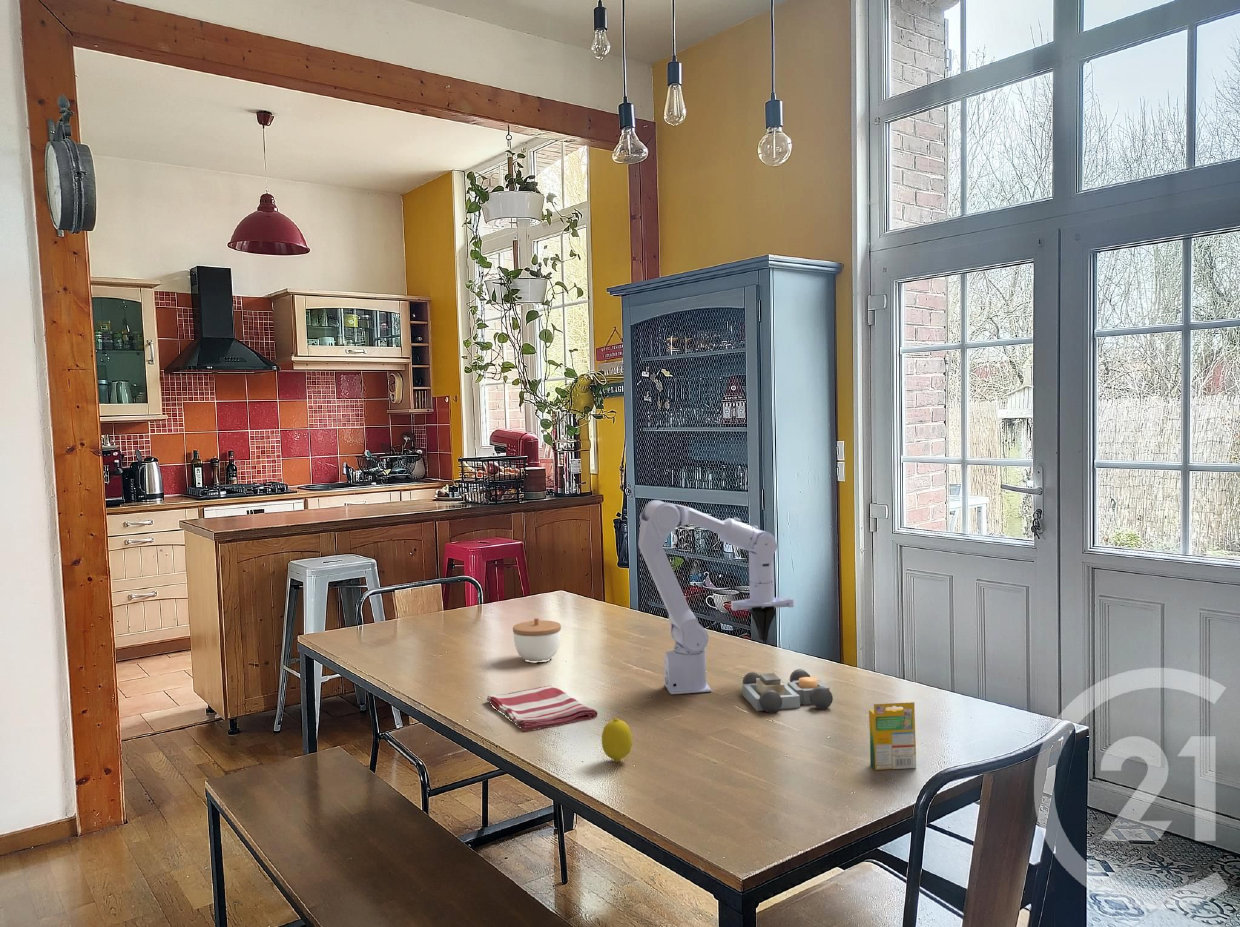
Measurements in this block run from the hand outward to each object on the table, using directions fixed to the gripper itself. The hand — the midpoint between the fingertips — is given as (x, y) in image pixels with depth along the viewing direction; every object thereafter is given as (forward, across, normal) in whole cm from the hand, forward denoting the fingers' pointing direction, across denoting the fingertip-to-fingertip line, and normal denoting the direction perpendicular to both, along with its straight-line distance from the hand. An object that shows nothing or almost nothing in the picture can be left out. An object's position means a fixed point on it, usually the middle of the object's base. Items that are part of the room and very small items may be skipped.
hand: (763, 638), depth 204 cm
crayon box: (+10, +7, -54) cm, 55 cm away
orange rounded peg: (+9, +5, -15) cm, 19 cm away
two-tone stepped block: (+10, -3, -15) cm, 18 cm away
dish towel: (+11, -53, -9) cm, 55 cm away
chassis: (+10, 0, -15) cm, 18 cm away
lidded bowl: (+10, -52, +32) cm, 62 cm away
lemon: (+10, -40, -42) cm, 59 cm away
